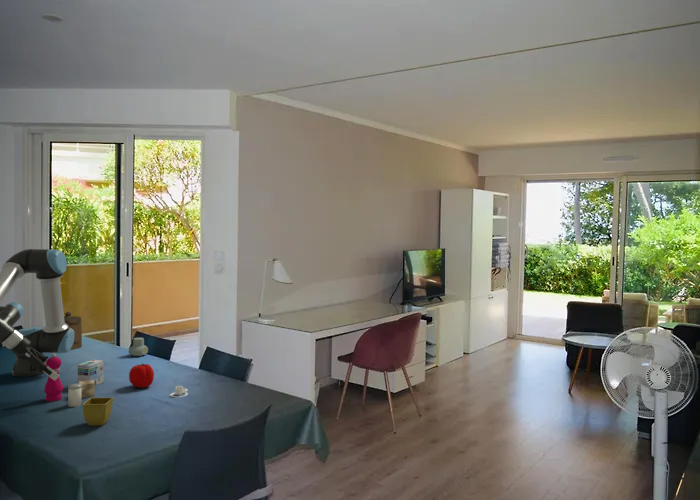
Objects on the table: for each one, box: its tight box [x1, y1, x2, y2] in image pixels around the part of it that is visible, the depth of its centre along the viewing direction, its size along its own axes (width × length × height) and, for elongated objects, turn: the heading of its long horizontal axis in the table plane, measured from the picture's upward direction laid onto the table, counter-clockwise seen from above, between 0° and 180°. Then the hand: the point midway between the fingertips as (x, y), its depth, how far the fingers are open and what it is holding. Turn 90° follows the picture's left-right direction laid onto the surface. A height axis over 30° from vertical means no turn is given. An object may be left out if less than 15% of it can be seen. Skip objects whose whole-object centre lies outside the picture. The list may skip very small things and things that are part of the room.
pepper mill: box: [43, 353, 64, 402], centre depth 243 cm, size 7×7×20 cm
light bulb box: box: [77, 359, 105, 387], centre depth 266 cm, size 11×7×11 cm, turn 168°
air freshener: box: [128, 337, 149, 357], centre depth 327 cm, size 11×8×10 cm
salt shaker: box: [67, 382, 82, 408], centre depth 236 cm, size 5×5×8 cm
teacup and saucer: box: [169, 385, 189, 398], centre depth 254 cm, size 9×8×4 cm
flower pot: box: [81, 397, 114, 427], centre depth 215 cm, size 9×9×9 cm
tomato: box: [128, 363, 155, 389], centre depth 265 cm, size 12×12×11 cm
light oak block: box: [79, 380, 96, 399], centre depth 250 cm, size 6×6×6 cm
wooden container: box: [64, 311, 83, 350], centre depth 344 cm, size 15×15×22 cm
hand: (57, 374), depth 244 cm, fingers open, 13 cm apart
